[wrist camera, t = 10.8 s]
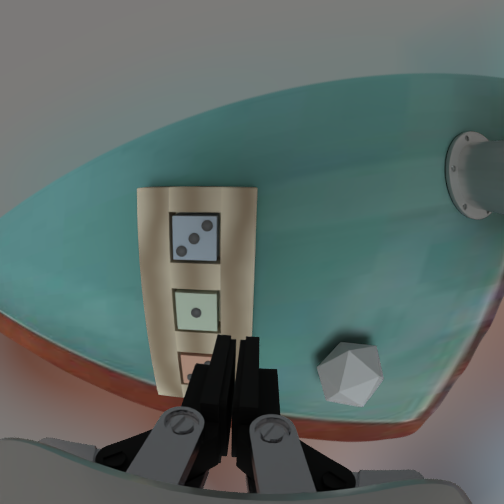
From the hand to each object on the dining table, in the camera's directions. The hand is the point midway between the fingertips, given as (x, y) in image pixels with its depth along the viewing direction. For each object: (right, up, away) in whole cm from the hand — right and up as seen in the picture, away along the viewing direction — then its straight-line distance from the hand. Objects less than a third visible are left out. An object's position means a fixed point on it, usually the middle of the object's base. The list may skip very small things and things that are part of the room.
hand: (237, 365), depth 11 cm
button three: (-5, +7, +20) cm, 21 cm away
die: (+13, -10, +26) cm, 31 cm away
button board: (-5, -1, +23) cm, 23 cm away
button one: (-5, -1, +22) cm, 22 cm away
